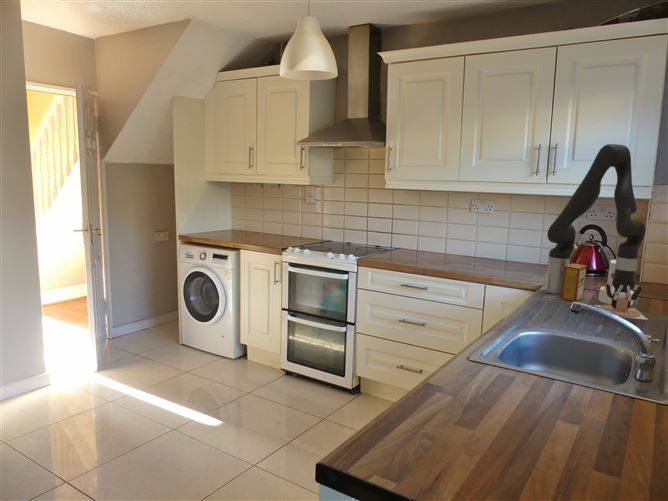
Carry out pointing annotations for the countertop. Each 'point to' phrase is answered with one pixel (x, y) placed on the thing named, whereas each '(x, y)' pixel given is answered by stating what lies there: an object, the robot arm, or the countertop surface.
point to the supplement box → (611, 271)
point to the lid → (622, 308)
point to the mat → (632, 317)
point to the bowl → (606, 299)
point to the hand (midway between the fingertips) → (620, 308)
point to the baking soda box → (573, 282)
